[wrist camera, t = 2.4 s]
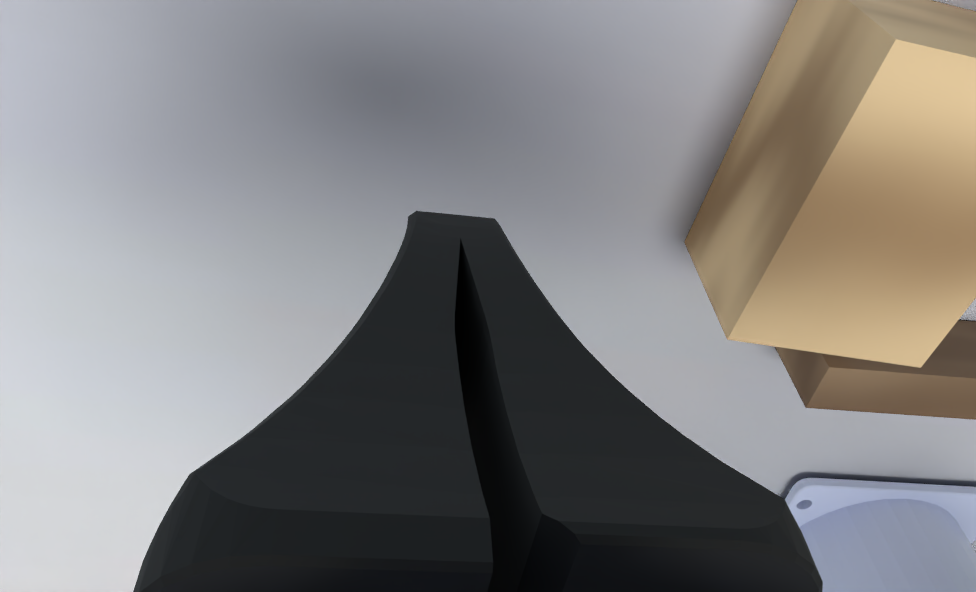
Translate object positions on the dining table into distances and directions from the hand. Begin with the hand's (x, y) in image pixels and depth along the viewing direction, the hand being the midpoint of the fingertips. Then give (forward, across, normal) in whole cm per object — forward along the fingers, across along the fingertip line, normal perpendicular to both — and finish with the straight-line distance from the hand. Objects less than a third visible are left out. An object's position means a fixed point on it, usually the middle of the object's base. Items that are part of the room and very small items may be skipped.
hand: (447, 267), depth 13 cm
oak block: (+7, -10, 0) cm, 12 cm away
